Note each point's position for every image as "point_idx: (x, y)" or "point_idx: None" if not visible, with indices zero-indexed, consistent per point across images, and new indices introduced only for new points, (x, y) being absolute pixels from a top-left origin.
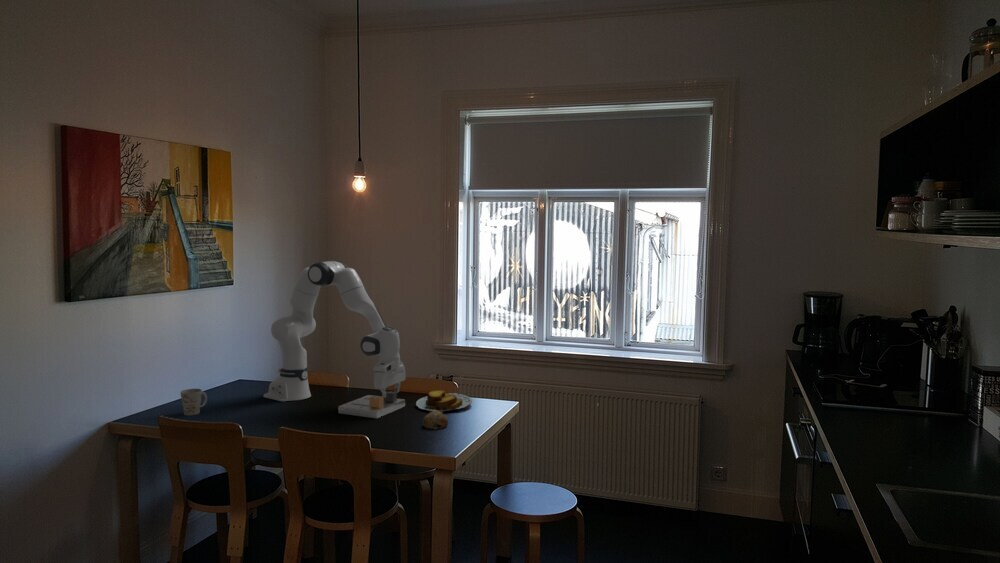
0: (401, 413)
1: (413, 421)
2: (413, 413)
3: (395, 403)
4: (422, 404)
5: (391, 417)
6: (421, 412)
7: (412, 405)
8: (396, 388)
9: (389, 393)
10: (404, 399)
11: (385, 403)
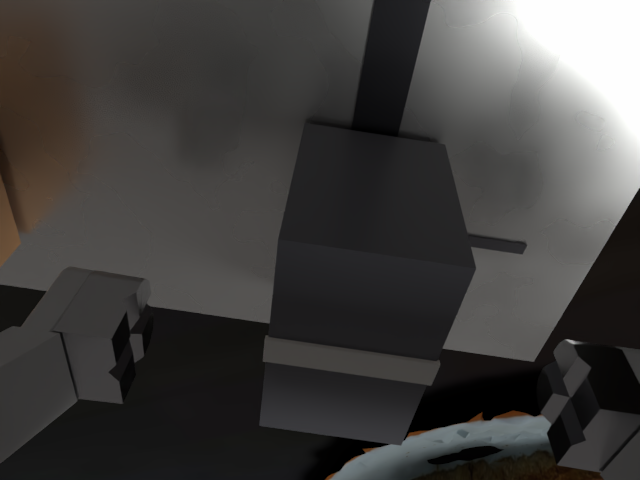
0: (194, 342)
1: (43, 457)
2: (244, 416)
3: None
4: (546, 431)
5: (14, 307)
6: (300, 452)
7: (551, 346)
8: (618, 444)
9: (266, 368)
10: (533, 356)
11: (212, 198)
